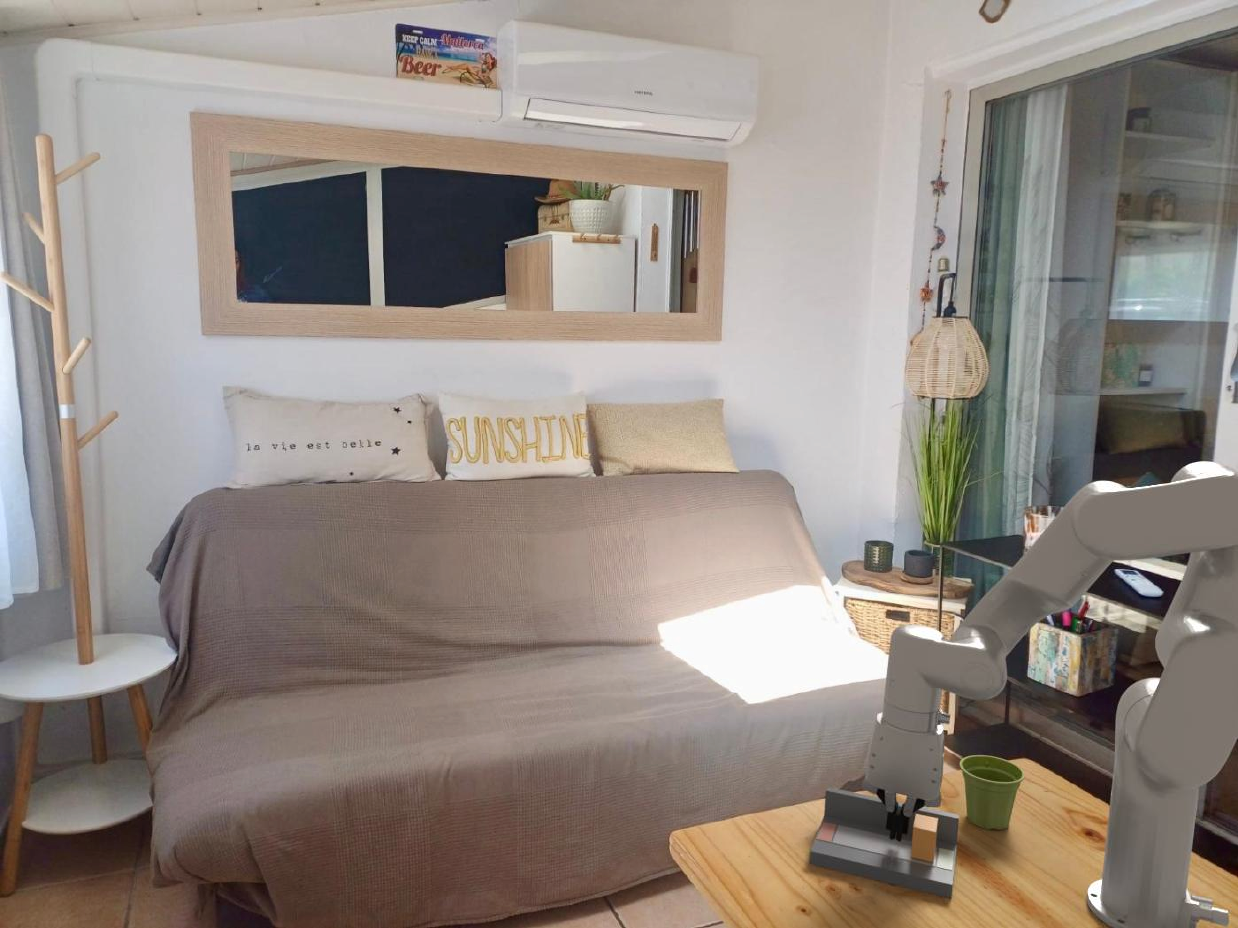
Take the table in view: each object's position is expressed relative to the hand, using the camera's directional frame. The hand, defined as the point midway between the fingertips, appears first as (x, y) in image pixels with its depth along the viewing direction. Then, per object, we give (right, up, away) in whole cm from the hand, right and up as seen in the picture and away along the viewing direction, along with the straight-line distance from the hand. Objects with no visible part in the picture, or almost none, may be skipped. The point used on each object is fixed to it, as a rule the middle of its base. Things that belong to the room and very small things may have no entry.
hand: (896, 835), depth 131 cm
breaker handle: (+3, -2, -1) cm, 4 cm away
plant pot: (+18, -3, +12) cm, 22 cm away
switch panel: (-1, -4, +1) cm, 4 cm away
